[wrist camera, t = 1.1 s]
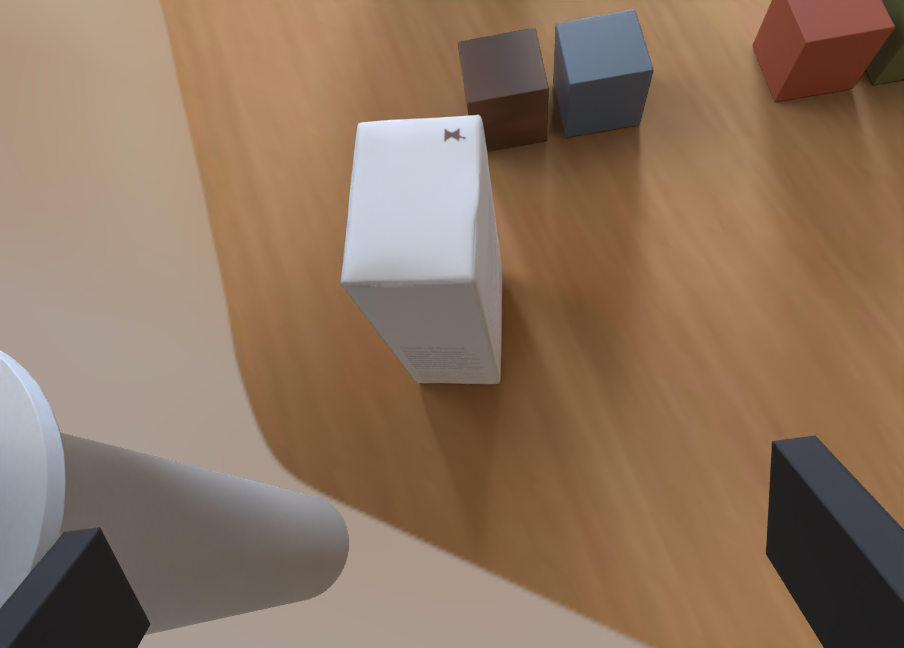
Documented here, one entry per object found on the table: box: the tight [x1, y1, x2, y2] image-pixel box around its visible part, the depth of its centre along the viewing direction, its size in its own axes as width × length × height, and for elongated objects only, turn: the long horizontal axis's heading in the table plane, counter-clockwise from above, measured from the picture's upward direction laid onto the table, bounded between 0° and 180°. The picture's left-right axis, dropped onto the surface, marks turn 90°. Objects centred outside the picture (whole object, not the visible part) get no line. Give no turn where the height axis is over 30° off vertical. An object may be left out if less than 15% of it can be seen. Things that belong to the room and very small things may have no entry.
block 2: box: [553, 9, 653, 137], centre depth 31 cm, size 4×4×4 cm
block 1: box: [458, 28, 549, 151], centre depth 32 cm, size 4×4×4 cm
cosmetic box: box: [341, 115, 502, 384], centre depth 24 cm, size 6×4×12 cm
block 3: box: [753, 0, 895, 102], centre depth 30 cm, size 4×4×4 cm
